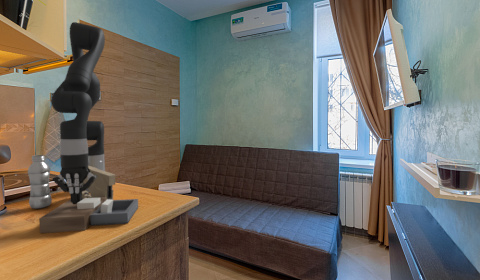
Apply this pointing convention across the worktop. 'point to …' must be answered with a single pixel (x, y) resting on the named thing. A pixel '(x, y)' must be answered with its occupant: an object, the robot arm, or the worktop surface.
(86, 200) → the tile
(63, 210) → the brown wooden block
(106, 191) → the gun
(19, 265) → the worktop surface
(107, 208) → the tile
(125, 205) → the box
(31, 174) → the plastic bottle
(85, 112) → the robot arm
